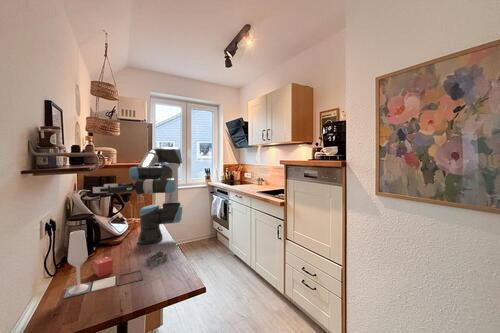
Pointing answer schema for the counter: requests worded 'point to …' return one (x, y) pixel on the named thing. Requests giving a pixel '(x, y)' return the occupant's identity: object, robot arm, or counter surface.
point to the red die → (103, 266)
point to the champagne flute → (77, 257)
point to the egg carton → (156, 258)
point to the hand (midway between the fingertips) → (98, 188)
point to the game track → (101, 284)
